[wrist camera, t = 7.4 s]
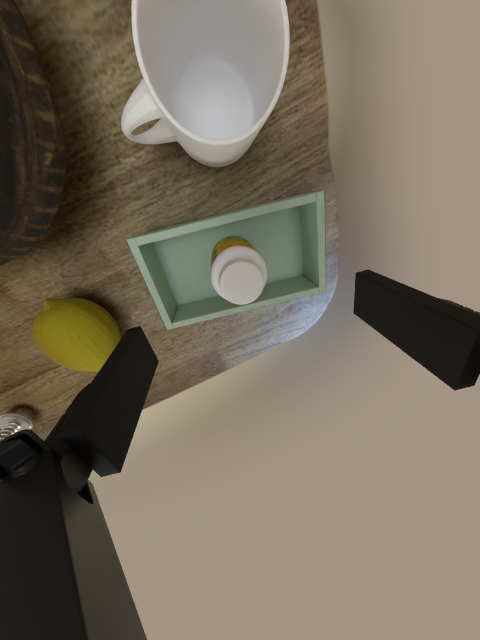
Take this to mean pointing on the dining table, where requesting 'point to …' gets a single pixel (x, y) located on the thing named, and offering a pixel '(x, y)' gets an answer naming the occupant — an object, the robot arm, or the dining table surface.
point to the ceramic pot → (26, 140)
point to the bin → (260, 231)
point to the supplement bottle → (237, 270)
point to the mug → (207, 73)
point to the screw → (15, 422)
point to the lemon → (76, 333)
